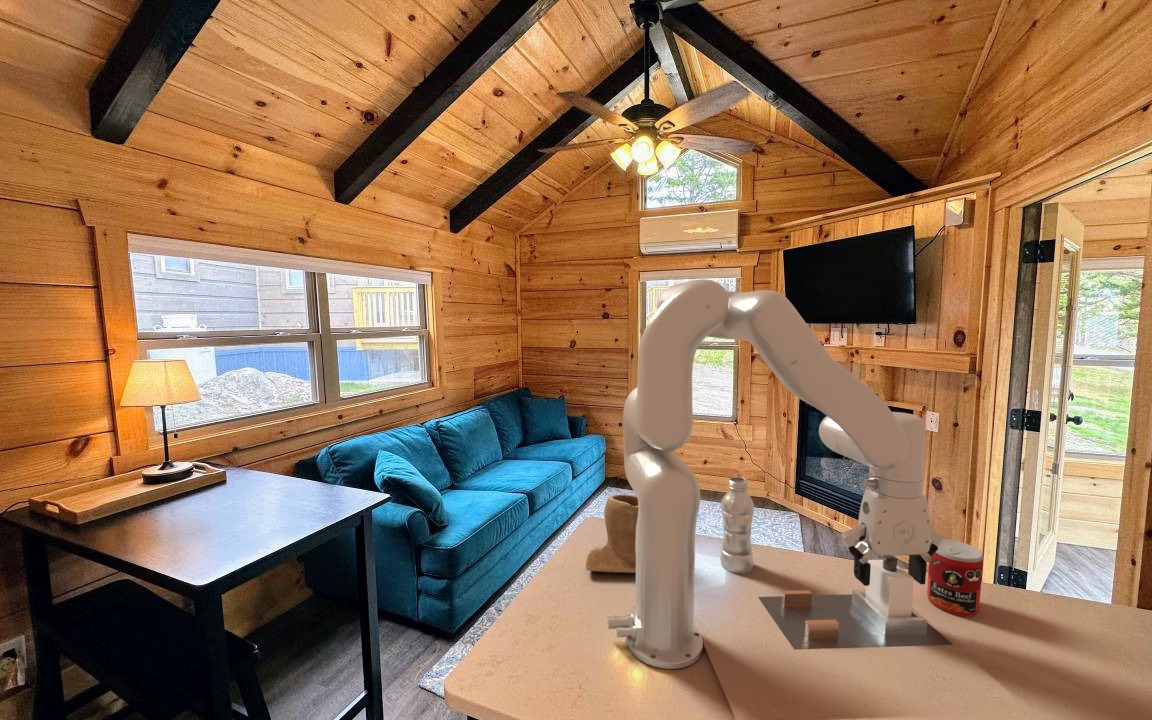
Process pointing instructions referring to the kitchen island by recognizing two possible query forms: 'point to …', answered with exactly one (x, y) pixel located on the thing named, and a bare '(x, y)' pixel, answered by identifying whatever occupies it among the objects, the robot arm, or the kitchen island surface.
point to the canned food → (955, 578)
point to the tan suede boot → (617, 537)
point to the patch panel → (845, 622)
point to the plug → (890, 588)
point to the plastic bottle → (737, 527)
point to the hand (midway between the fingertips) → (889, 580)
